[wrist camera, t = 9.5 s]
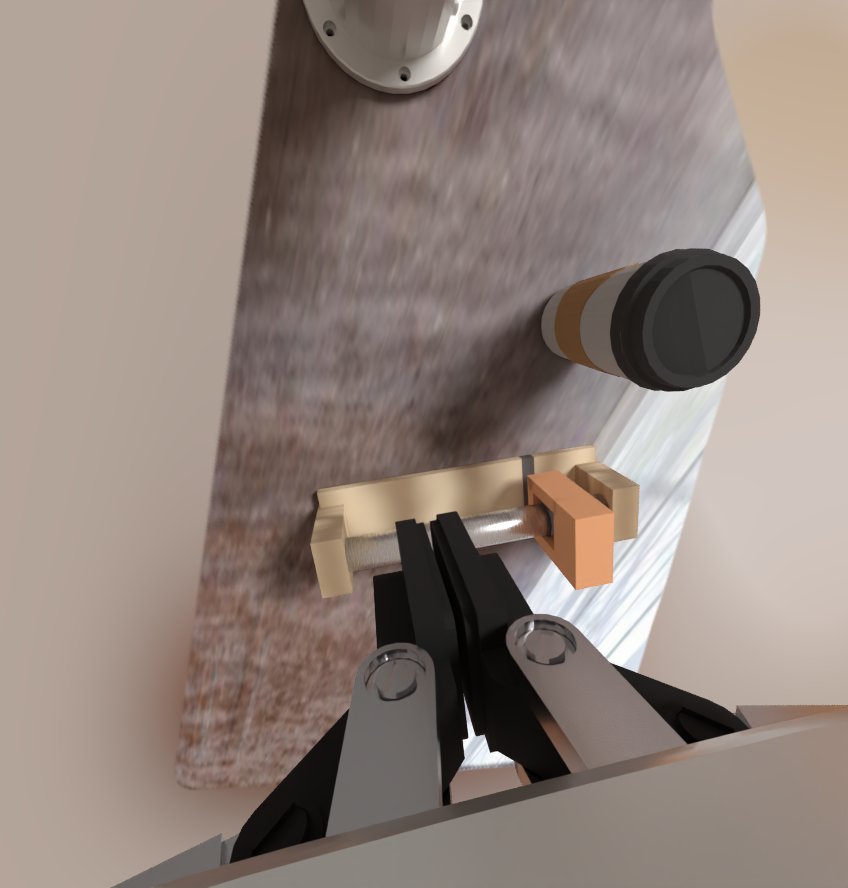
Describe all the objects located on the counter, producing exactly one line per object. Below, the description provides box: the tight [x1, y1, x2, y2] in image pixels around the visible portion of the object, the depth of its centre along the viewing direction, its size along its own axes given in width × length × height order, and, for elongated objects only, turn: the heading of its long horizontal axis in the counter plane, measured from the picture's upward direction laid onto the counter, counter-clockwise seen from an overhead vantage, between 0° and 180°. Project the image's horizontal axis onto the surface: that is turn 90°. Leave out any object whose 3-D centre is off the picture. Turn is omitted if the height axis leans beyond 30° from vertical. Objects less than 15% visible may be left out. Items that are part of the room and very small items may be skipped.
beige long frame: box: [310, 445, 640, 598], centre depth 38 cm, size 27×8×7 cm, turn 97°
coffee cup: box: [541, 249, 760, 392], centre depth 30 cm, size 8×8×15 cm
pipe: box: [345, 493, 610, 572], centre depth 36 cm, size 25×3×3 cm, turn 97°
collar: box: [527, 470, 614, 590], centre depth 35 cm, size 3×6×9 cm, turn 7°
